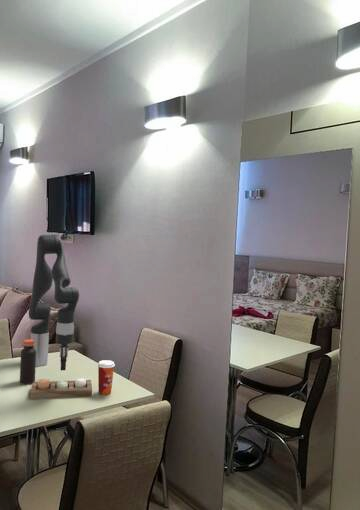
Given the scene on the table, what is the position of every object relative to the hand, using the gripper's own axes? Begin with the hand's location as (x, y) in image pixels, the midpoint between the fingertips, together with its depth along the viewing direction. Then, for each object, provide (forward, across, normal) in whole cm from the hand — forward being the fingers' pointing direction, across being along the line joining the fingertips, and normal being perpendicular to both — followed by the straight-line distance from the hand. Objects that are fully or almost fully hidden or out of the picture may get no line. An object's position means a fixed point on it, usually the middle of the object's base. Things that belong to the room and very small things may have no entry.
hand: (63, 369), depth 183 cm
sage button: (+10, 0, 0) cm, 10 cm away
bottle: (+11, -14, -16) cm, 24 cm away
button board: (+10, 0, 0) cm, 10 cm away
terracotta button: (+9, 0, -8) cm, 12 cm away
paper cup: (+10, +2, +19) cm, 22 cm away
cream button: (+9, 0, +8) cm, 12 cm away
